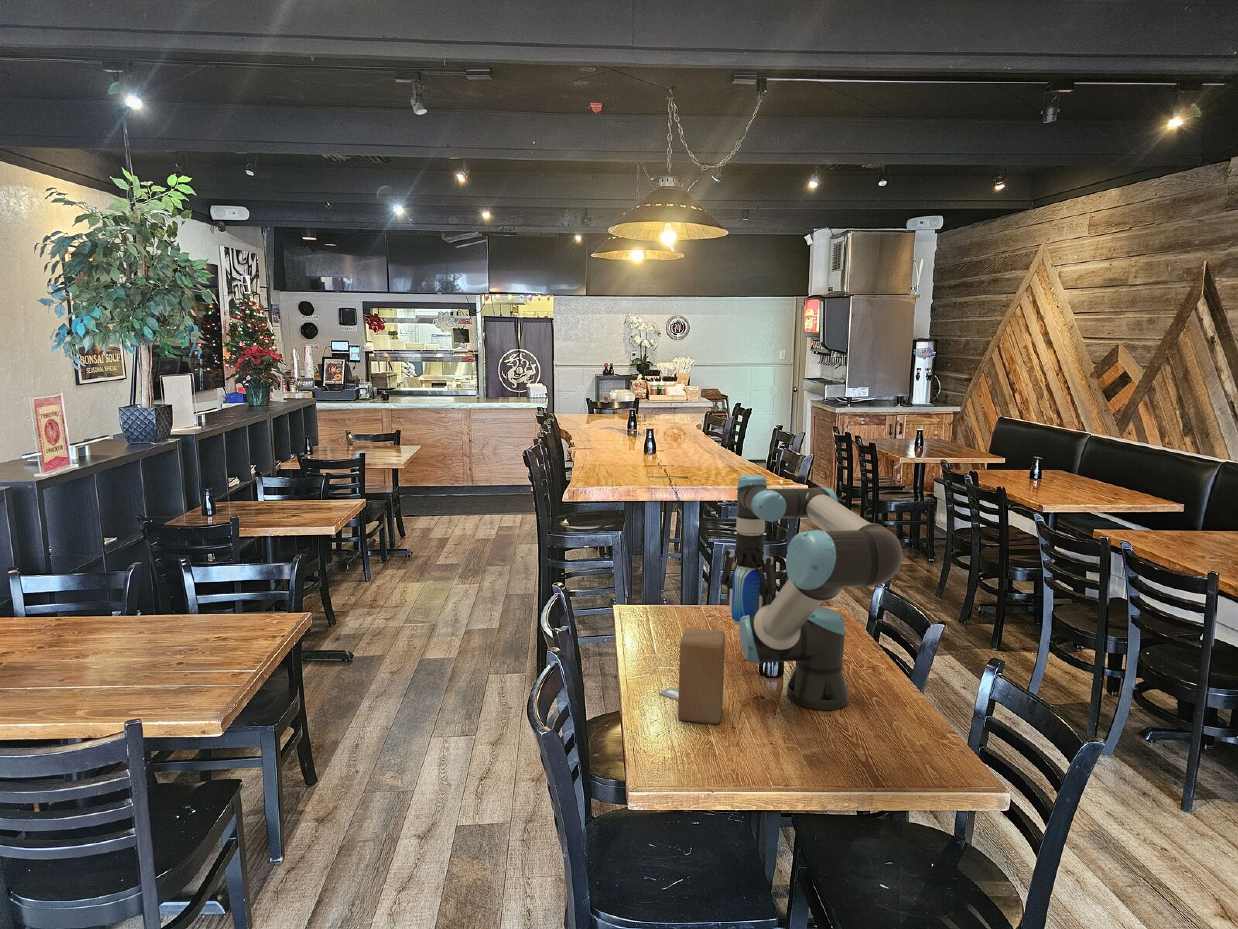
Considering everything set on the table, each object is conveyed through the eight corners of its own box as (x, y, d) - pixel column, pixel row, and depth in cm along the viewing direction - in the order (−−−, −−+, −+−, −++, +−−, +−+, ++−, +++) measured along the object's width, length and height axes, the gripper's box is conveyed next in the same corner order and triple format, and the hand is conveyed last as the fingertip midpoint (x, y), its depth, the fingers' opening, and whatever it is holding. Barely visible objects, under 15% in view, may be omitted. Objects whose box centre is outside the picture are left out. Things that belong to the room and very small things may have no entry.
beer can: (744, 615, 216) (746, 560, 214) (769, 623, 210) (771, 566, 208) (725, 622, 210) (726, 565, 208) (749, 630, 204) (752, 571, 202)
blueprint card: (696, 696, 197) (696, 695, 197) (685, 703, 193) (685, 701, 193) (670, 688, 202) (670, 686, 202) (659, 694, 198) (659, 692, 198)
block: (719, 726, 181) (722, 644, 179) (677, 721, 183) (679, 640, 181) (722, 707, 191) (725, 629, 188) (682, 703, 193) (684, 626, 190)
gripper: (792, 536, 203) (789, 619, 206) (723, 525, 216) (720, 603, 219) (779, 541, 197) (776, 626, 200) (709, 529, 210) (706, 610, 213)
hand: (747, 614), depth 210 cm, fingers closed on beer can, 8 cm apart
